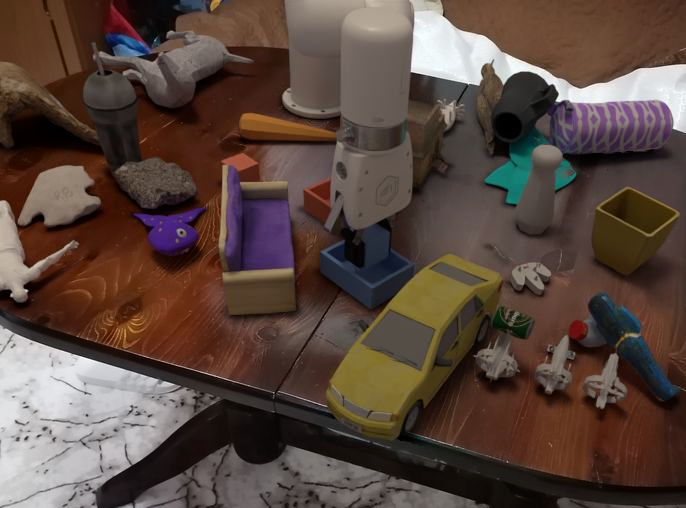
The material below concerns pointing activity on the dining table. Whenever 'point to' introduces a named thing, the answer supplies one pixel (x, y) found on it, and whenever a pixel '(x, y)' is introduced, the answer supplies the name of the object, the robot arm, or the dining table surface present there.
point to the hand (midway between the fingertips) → (367, 254)
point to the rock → (33, 104)
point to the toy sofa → (256, 246)
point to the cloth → (513, 172)
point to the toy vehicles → (552, 370)
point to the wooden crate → (425, 141)
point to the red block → (244, 167)
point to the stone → (155, 182)
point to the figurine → (19, 257)
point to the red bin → (318, 200)
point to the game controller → (529, 276)
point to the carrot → (279, 129)
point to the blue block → (375, 244)
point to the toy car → (413, 347)
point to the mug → (521, 105)
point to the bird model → (488, 101)
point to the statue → (176, 67)
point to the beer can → (512, 323)
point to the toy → (171, 232)
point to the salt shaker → (539, 191)
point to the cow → (450, 112)
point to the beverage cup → (113, 114)
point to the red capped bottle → (586, 332)
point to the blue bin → (367, 275)
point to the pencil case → (609, 126)
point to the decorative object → (59, 197)
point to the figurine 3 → (629, 343)
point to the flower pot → (630, 229)
